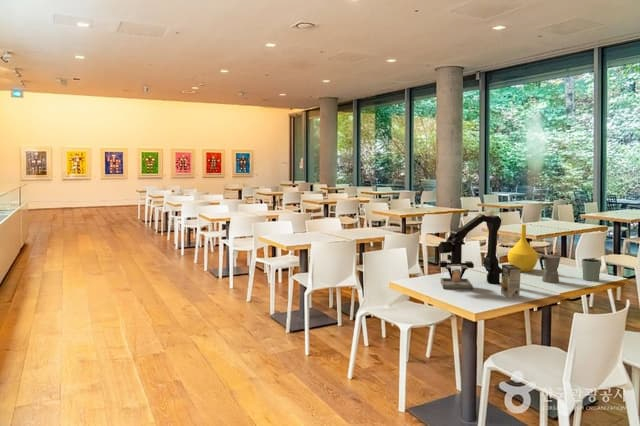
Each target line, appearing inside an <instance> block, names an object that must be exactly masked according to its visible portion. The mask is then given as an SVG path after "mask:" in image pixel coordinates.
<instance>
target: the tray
mask: <svg viewBox="0 0 640 426" xmlns="http://www.w3.org/2000/svg"><path fill="white" fill-rule="evenodd" d="M440 285H441V287H442V289H443V290H466V291H467V290H468V291H469V290H473V285H472V282H471V281H470V280H469V278H462V279H460V283H454V282H451V278H450V277H449V278H448V277H441V278H440Z"/></svg>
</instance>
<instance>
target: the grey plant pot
mask: <svg viewBox="0 0 640 426" xmlns="http://www.w3.org/2000/svg"><path fill="white" fill-rule="evenodd" d="M601 266H602V260H600V259H598V258H597V259H596V258H582V259H581V267H582V279H583V281H586V282H592V281H596V282H599V281H600V274H601Z"/></svg>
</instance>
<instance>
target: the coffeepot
mask: <svg viewBox="0 0 640 426" xmlns="http://www.w3.org/2000/svg"><path fill="white" fill-rule="evenodd" d="M561 258H562V257H561V256H560V255H557V254H556V255H555V254H554V251H552V250H551V251H550V254H544V255H542V256H540V258H538V259H539V260H538V261H539V265H540V269H541V270H542V271H543V275H542V280H541V281H542V282H543V283H548V284H558V283H559V282H560V278H559V271H558V269H559V265H560V261H561Z"/></svg>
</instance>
